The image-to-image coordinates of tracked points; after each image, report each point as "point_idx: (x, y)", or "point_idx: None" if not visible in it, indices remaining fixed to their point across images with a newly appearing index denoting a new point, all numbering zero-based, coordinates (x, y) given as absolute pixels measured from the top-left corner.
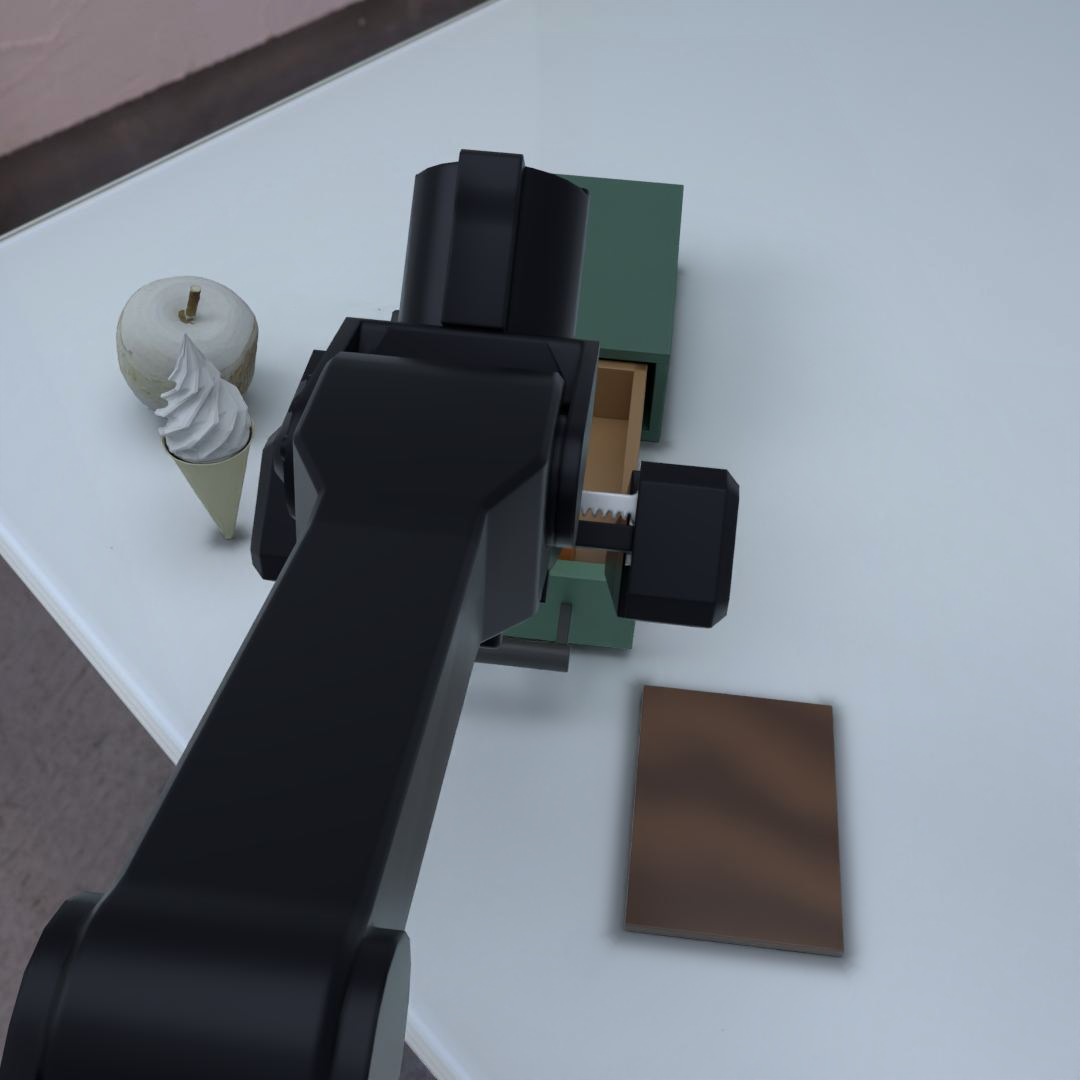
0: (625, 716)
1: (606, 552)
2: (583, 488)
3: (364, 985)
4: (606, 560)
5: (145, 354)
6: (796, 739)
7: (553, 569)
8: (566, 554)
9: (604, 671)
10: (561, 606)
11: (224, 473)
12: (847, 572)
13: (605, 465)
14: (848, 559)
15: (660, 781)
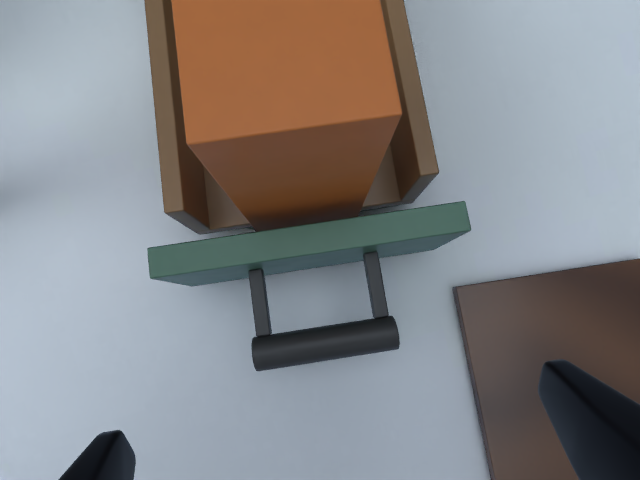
0: (443, 323)
1: (578, 433)
2: None
3: None
4: (592, 468)
5: None
6: (622, 312)
7: (354, 237)
8: (359, 198)
9: (407, 273)
10: (366, 259)
11: None
12: (609, 76)
13: None
14: (606, 59)
15: (505, 405)
